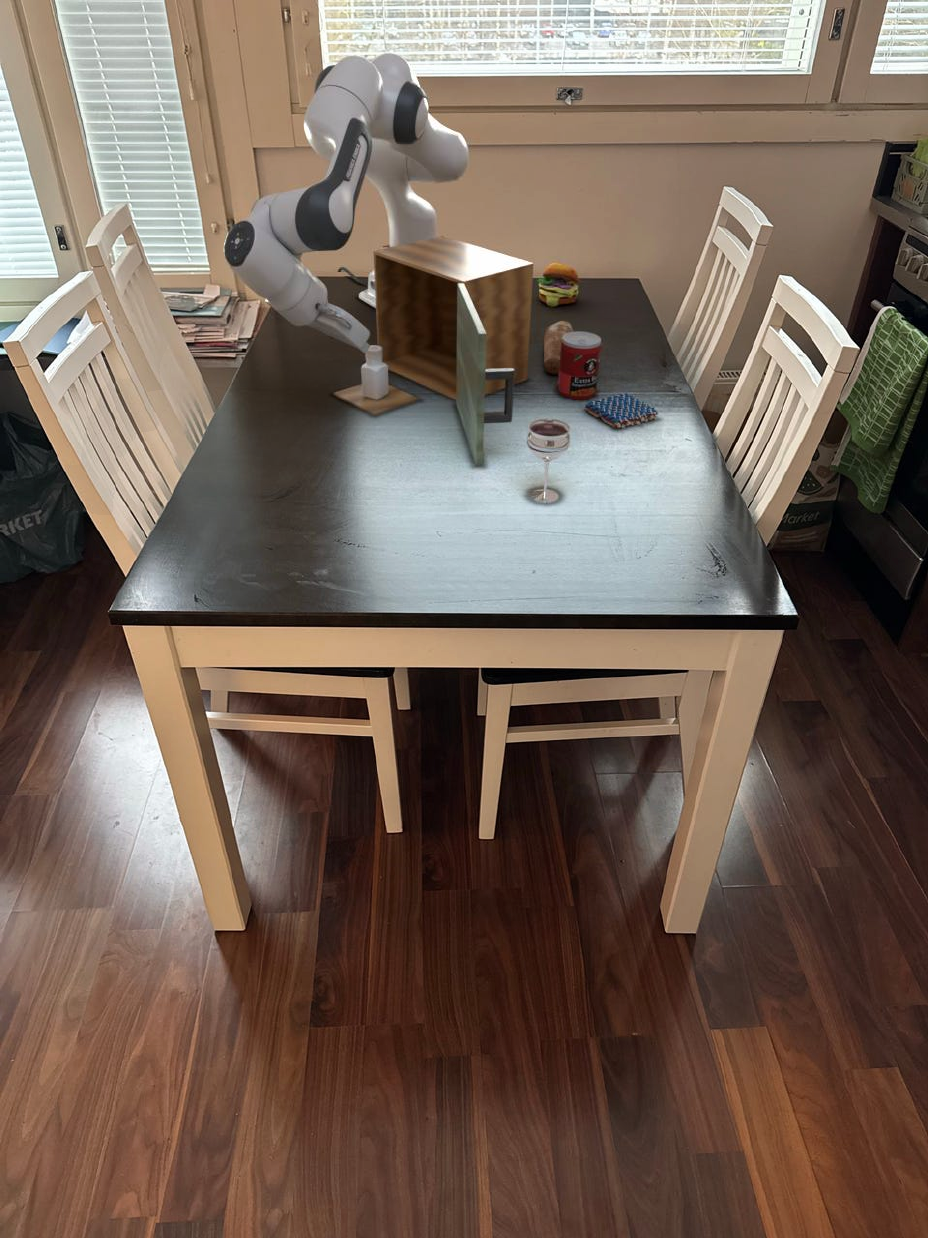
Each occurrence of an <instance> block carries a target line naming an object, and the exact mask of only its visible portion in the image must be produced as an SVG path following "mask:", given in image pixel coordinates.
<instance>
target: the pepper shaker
mask: <svg viewBox="0 0 928 1238" xmlns="http://www.w3.org/2000/svg"><path fill="white" fill-rule="evenodd" d="M364 354H365V363H364V364H362V365H361V367H360V373H361V374H360V375H361V384H362V394H363V396H365V397H368V398H372V399H375V400H378V399H380V398H382V397H384V396H386V395H388V393H389V385H390V384H389V370H388V366H387V365H386V364H385V363H383V362H382V347H380V346H378V345H376V344H375V345H374V344H373V345H371V344H370V347H369V349H368V351H367V352H366V353H364ZM388 384H389V385H388Z"/></svg>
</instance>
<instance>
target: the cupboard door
mask: <svg viewBox="0 0 928 1238" xmlns="http://www.w3.org/2000/svg"><path fill="white" fill-rule="evenodd" d="M486 335H487V334H486V332H485V329H484V327H483V325H482V323H481V321H480V318H479V316H478V314H477V312H476V309H475V307H474V305H473V303H472V301H471V298H470V296H469V294H468V292H467V289H466V287H465V285H464V283H461V284H457V383H456V400H455V405H456V408H457V412H458V413H459V417H460V420H461V423H462V426H463V429H464V433H465V436H466V438H467V443H468V446H469V448H470V449H469V450H470V452H471V455H472V458H473V461H474V465H475V467H483V466H484V441H485V440H484V438H485V437H484V435H485V424H502V423H503V424H506V423H512V422H513V411H514V387H515V384H514V371H515V370H514V369H513V368H499V369H486ZM504 379H506V381H505V388H504V405H503V406H504V407H503V408H504V410H503V411H490V412H486V411H485V405H486V403H485V400H486V395H485V380H504Z"/></svg>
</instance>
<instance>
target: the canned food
mask: <svg viewBox="0 0 928 1238" xmlns="http://www.w3.org/2000/svg"><path fill="white" fill-rule="evenodd" d="M601 350H602V337H600V336H599V335H597V334H595V333H592V332H589V331H580V330H579V331H577V330H575V331H574V332H569V333H566V334H564V335H563V336H562V341H561V353H560V366H559V374H558V379H557V381H558V383H557V389H558V393H559V394H560V395H561V396H562V397H564V398H567V399H571V400H576V401H577V400H580V401H581V400H582V401H583V400H587V399H591V398H593V397H594V396H595V394H596V392H597V388H598V378H599V368H600V362H601V361H600V360H601Z"/></svg>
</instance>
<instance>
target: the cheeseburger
mask: <svg viewBox="0 0 928 1238" xmlns="http://www.w3.org/2000/svg"><path fill="white" fill-rule="evenodd" d="M542 277H543V278H538V280H537V283H538V286H539V289H538V291H539V294H538V299H539V300H540V301H542V302H543V303H544V304H546V305H547V306H549V307H552V308H555V307H557V306H560V305H568V304H573V303H575V302H576V300H577V297H578V295H579V290H578V289H579V285H578V284H579V283H581V280H580V279H579V274H578V271H577V270H576V269H575V268H574V267H571V266H568V265H566V264H564V263H559V262H553V263H550V264H548V266H547V267H546V268H545V269H544V270H543V273H542Z"/></svg>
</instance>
